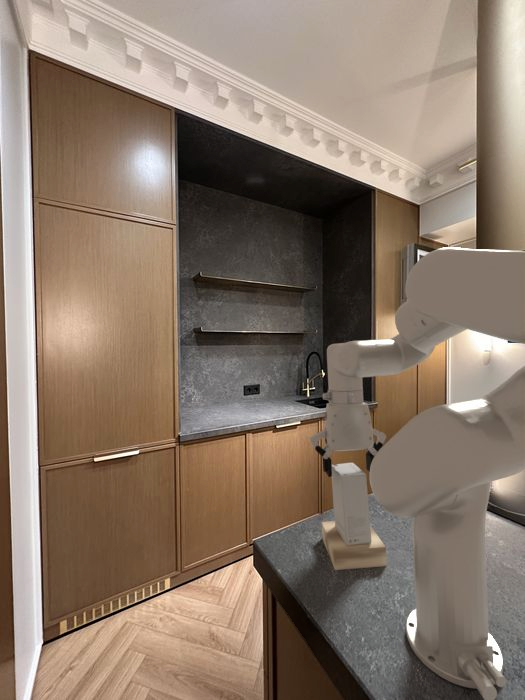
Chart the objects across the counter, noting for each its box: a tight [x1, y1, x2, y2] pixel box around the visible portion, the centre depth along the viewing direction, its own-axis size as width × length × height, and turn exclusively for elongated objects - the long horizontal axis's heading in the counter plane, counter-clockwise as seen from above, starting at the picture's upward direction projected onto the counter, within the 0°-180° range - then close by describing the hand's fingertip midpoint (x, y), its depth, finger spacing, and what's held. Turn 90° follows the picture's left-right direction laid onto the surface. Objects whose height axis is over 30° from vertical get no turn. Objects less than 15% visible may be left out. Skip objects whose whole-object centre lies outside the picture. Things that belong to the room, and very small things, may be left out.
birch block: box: [321, 520, 387, 571], centre depth 71 cm, size 11×11×4 cm
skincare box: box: [330, 462, 371, 545], centre depth 71 cm, size 8×6×15 cm
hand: (349, 473), depth 71 cm, fingers open, 9 cm apart
